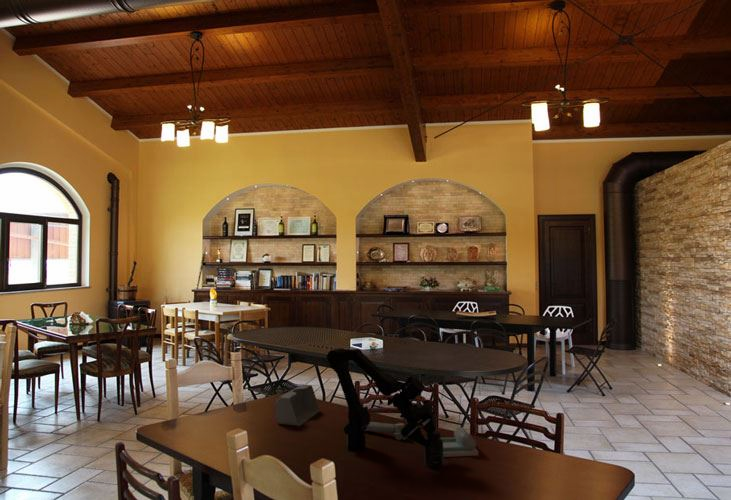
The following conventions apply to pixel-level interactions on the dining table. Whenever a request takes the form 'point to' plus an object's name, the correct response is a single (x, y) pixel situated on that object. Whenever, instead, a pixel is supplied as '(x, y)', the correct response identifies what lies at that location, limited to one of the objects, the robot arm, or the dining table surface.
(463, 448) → the motor mount
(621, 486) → the dining table surface
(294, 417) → the grey faceted block
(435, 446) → the supplement bottle
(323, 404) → the dining table surface
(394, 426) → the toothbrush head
